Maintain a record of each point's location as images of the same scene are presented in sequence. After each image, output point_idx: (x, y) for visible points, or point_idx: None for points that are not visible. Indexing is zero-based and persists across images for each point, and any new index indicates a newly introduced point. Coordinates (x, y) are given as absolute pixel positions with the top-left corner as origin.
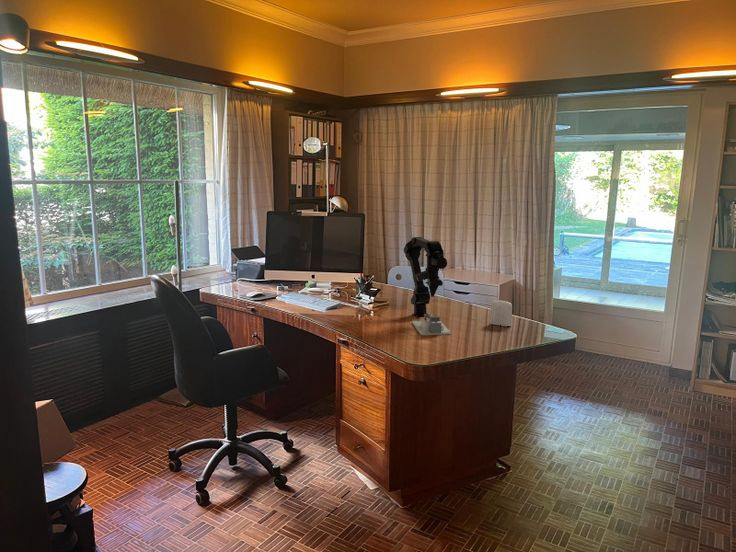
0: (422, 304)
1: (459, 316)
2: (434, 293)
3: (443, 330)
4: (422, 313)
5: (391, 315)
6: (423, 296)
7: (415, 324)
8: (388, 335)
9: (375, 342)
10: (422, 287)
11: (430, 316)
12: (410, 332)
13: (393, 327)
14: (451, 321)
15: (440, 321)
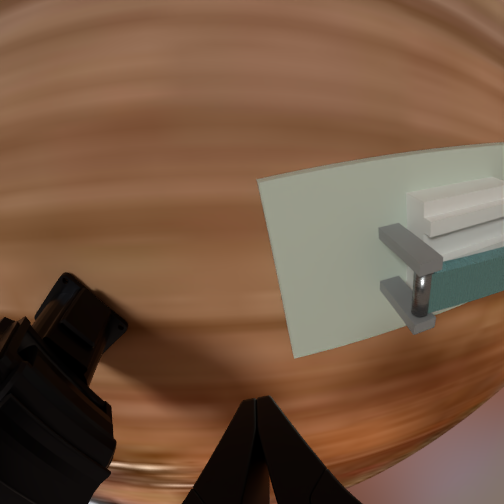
0: (62, 360)
1: (59, 40)
2: (298, 434)
3: (493, 177)
4: (107, 320)
5: (138, 428)
6: (72, 423)
7: (366, 335)
8: (454, 384)
9: (492, 387)
10: (30, 494)
11: (494, 286)
12: (449, 329)
13: (360, 402)
14: (220, 82)
15: (296, 177)
